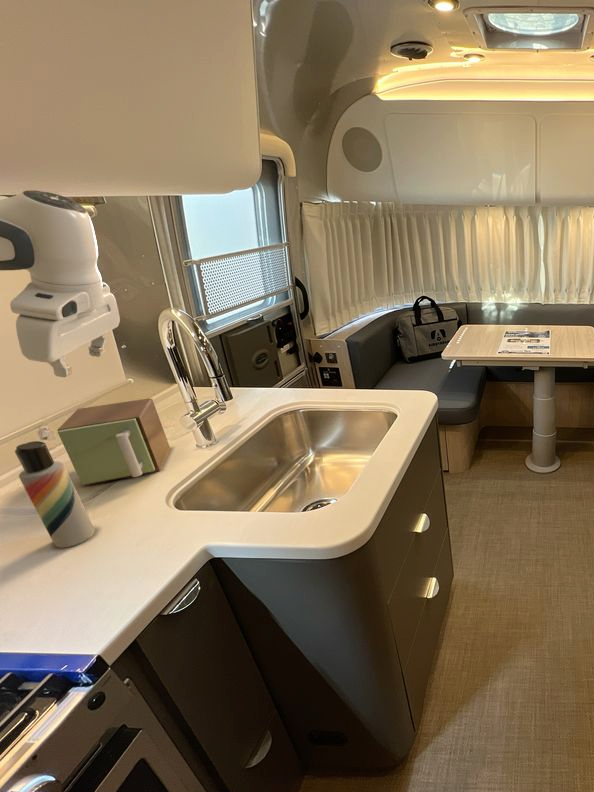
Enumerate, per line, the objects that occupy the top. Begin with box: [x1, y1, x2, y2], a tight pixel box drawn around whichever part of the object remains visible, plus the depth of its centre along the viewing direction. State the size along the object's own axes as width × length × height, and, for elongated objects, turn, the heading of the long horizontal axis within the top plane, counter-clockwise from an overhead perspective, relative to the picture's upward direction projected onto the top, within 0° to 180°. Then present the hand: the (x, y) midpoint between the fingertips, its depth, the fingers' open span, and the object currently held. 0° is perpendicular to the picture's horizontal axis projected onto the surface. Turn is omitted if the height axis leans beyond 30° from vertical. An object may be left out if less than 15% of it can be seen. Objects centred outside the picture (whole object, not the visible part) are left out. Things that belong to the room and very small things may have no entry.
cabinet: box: [57, 397, 171, 487], centre depth 111 cm, size 14×12×14 cm
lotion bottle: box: [14, 440, 95, 548], centre depth 86 cm, size 6×6×20 cm
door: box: [57, 418, 155, 486], centre depth 104 cm, size 13×5×13 cm, turn 115°
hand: (81, 364), depth 90 cm, fingers open, 8 cm apart
